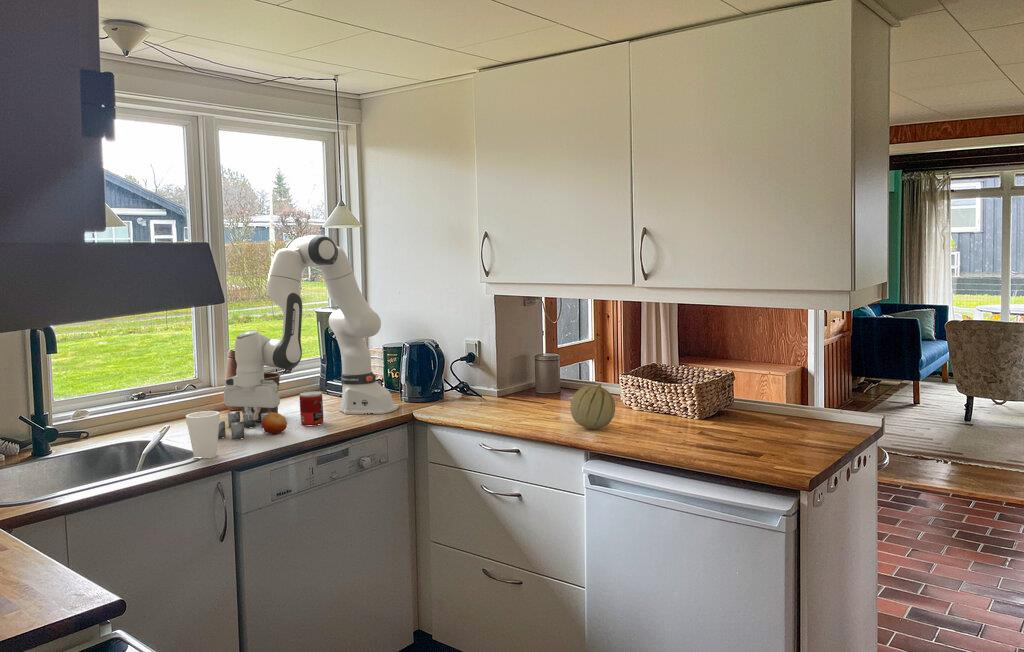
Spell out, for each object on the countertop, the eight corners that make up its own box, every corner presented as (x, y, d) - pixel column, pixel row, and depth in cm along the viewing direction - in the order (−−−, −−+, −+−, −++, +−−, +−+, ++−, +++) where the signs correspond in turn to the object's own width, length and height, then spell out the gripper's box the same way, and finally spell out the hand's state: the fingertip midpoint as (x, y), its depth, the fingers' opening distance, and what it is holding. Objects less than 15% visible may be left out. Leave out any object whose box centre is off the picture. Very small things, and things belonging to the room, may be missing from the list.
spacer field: (275, 426, 275) (275, 412, 275) (239, 439, 257) (238, 425, 256) (235, 424, 281) (234, 410, 280) (196, 437, 262) (195, 422, 261)
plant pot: (227, 422, 285) (224, 378, 283) (260, 413, 299) (257, 371, 297) (260, 425, 277) (257, 380, 276) (292, 416, 291) (290, 373, 290)
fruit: (270, 425, 271) (277, 406, 268) (285, 438, 268) (293, 419, 266) (252, 430, 264) (260, 411, 261) (268, 444, 261) (276, 424, 258)
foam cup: (182, 460, 233) (179, 417, 232) (199, 452, 242) (196, 410, 241) (211, 460, 231) (209, 417, 230) (227, 452, 241) (225, 411, 239)
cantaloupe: (561, 429, 259) (560, 384, 258) (592, 421, 268) (591, 378, 267) (593, 436, 248) (593, 389, 246) (625, 428, 257) (624, 383, 256)
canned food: (318, 426, 273) (316, 395, 272) (296, 426, 275) (295, 395, 274) (327, 421, 281) (325, 391, 280) (306, 421, 282) (305, 391, 281)
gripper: (282, 378, 265) (284, 418, 266) (231, 377, 271) (234, 416, 272) (271, 381, 259) (273, 422, 260) (219, 380, 265) (222, 420, 266)
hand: (253, 419), depth 266 cm, fingers closed
